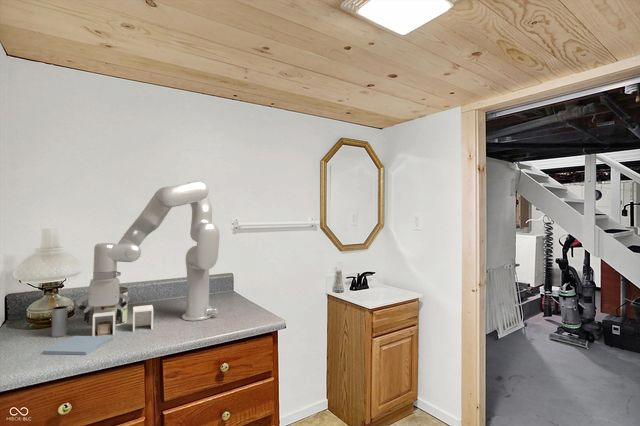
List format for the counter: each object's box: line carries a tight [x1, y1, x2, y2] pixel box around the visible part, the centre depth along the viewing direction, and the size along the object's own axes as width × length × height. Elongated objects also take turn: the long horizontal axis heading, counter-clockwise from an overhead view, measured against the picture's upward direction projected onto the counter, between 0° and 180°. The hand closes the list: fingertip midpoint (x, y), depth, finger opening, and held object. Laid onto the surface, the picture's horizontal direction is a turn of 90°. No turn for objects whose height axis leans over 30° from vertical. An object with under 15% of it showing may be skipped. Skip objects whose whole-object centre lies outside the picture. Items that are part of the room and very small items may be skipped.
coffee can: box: [99, 286, 129, 327], centre depth 143 cm, size 10×10×14 cm
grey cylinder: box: [51, 305, 68, 338], centre depth 128 cm, size 4×4×10 cm
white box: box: [91, 309, 116, 336], centre depth 131 cm, size 7×7×8 cm
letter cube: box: [97, 321, 112, 336], centre depth 131 cm, size 4×4×4 cm
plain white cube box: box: [132, 304, 154, 333], centre depth 138 cm, size 7×7×8 cm
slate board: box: [42, 335, 114, 356], centre depth 118 cm, size 14×14×1 cm
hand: (102, 320), depth 130 cm, fingers open, 9 cm apart
